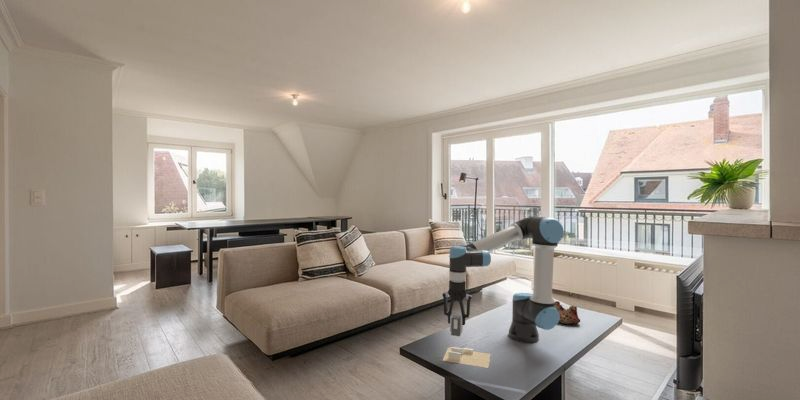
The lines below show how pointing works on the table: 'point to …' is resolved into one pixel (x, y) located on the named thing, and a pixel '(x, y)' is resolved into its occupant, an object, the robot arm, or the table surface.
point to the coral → (567, 314)
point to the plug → (455, 325)
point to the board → (467, 357)
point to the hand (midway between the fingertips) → (456, 331)
